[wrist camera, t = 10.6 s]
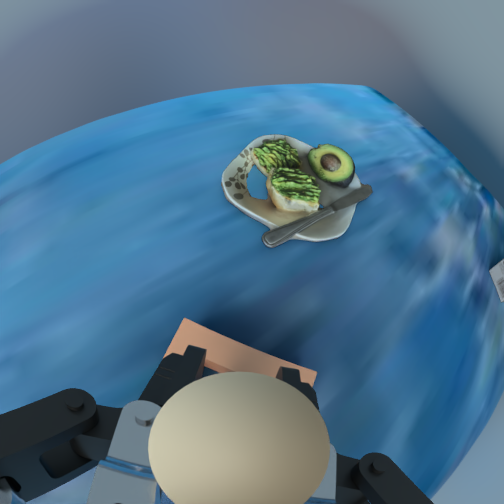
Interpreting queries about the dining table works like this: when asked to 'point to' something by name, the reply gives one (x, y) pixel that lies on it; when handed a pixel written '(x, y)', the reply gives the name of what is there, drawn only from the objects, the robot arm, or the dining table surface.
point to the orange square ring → (230, 353)
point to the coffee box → (498, 278)
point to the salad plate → (296, 189)
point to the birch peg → (239, 442)
